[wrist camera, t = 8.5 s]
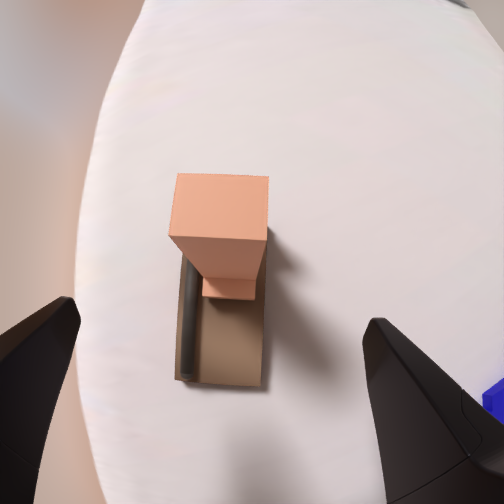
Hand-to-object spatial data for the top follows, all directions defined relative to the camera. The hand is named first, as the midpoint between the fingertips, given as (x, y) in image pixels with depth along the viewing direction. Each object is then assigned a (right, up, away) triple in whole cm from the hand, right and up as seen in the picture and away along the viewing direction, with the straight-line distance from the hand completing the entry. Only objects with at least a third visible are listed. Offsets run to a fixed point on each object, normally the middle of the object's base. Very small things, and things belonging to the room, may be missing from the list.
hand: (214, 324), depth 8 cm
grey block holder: (-1, -1, +10) cm, 10 cm away
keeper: (0, +1, +9) cm, 9 cm away
